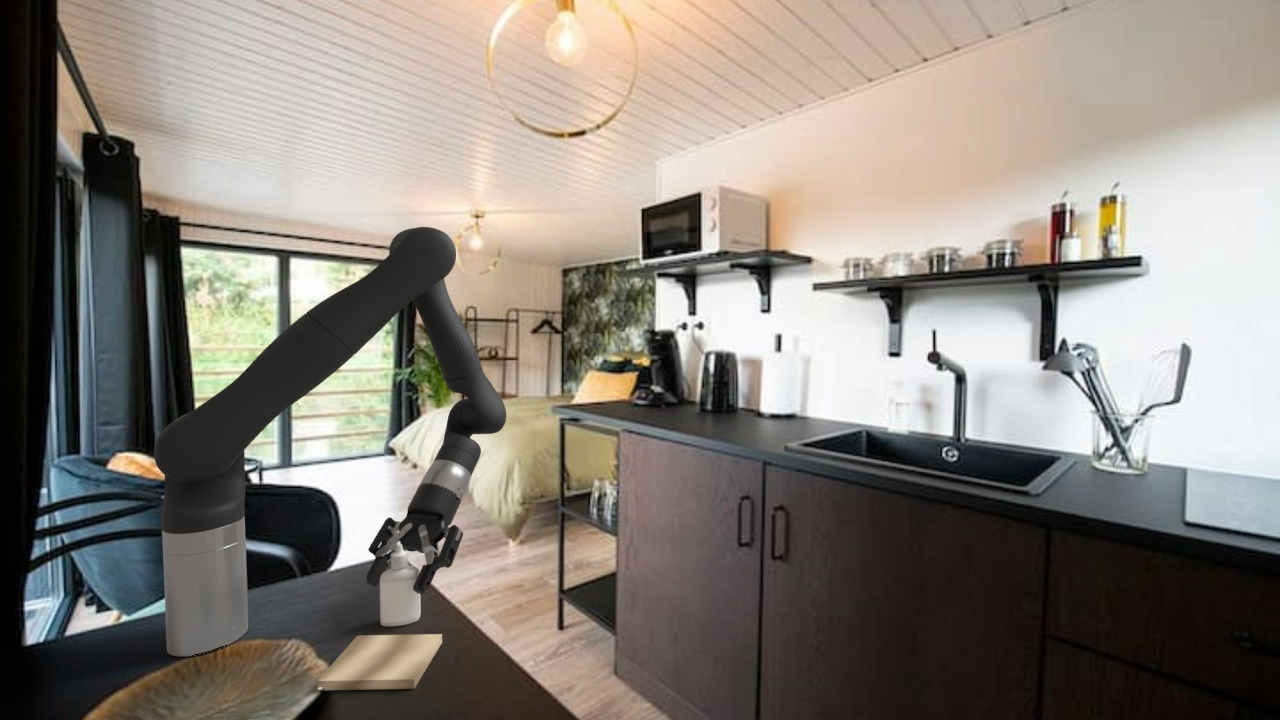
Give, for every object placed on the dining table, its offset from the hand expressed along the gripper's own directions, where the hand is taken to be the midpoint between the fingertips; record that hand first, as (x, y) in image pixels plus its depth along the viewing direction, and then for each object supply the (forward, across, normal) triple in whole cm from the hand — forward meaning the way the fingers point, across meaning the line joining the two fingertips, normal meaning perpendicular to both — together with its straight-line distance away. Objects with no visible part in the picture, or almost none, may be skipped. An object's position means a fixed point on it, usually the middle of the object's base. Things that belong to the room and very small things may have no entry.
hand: (394, 588), depth 80 cm
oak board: (+10, +6, -2) cm, 12 cm away
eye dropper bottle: (+3, 0, +5) cm, 6 cm away
